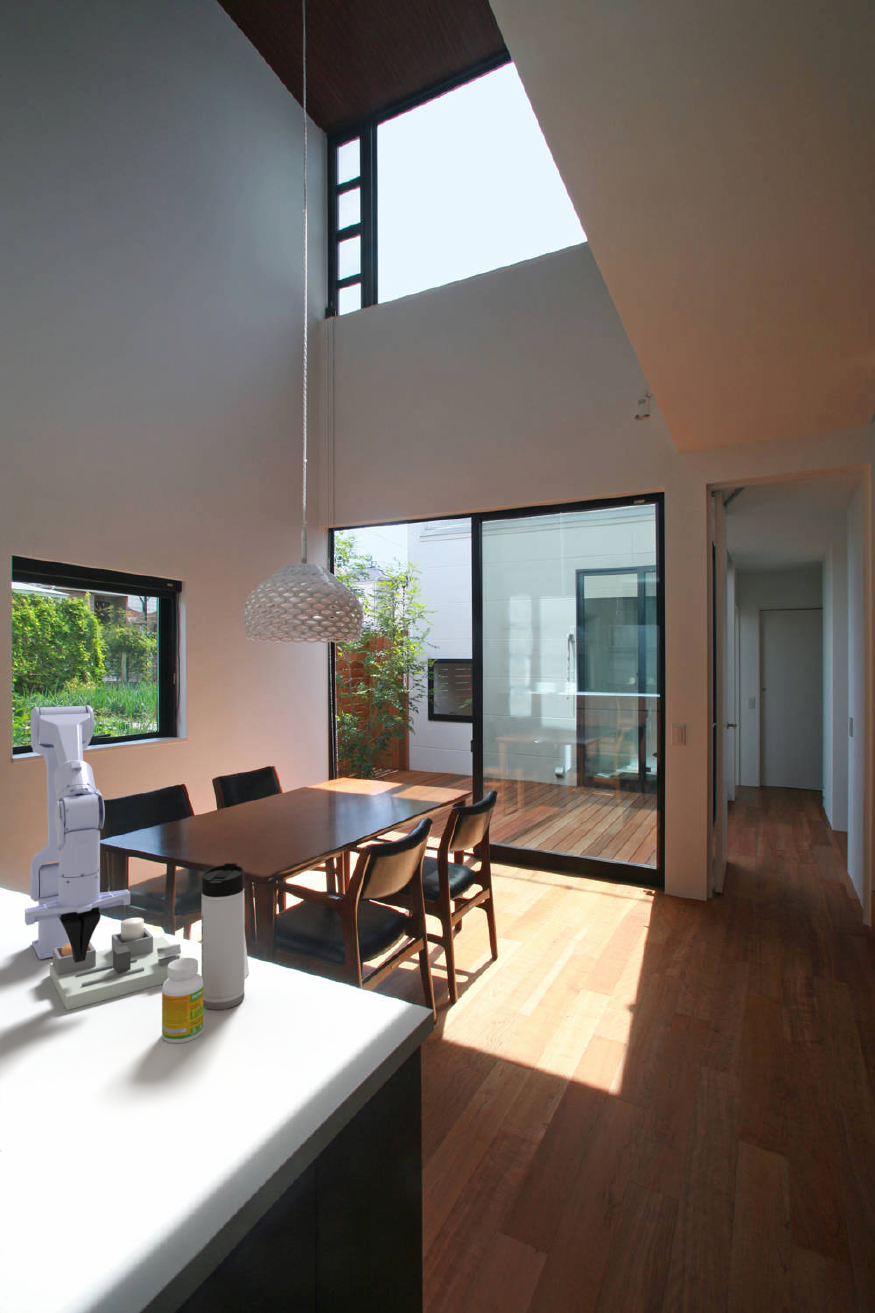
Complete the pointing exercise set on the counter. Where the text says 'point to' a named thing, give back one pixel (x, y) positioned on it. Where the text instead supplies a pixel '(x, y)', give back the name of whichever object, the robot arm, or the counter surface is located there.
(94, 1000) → the panel
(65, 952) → the button orange
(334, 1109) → the counter surface
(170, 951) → the rocker
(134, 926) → the button white
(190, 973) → the supplement bottle
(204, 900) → the travel mug
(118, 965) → the slider knob
